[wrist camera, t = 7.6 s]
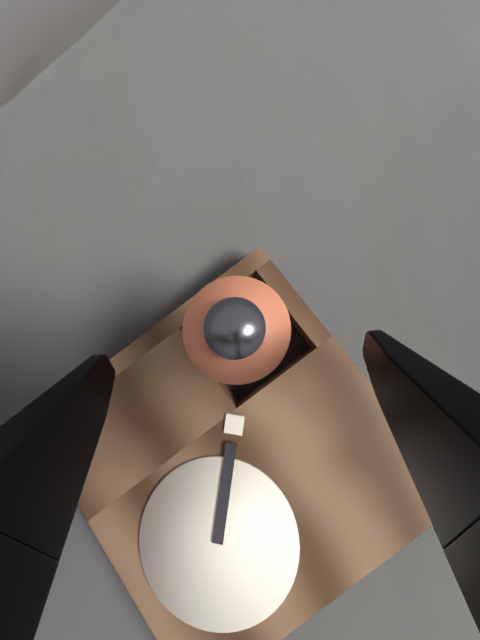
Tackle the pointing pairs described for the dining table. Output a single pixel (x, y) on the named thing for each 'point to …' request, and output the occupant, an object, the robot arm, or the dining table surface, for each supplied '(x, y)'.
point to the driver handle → (236, 330)
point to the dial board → (245, 483)
